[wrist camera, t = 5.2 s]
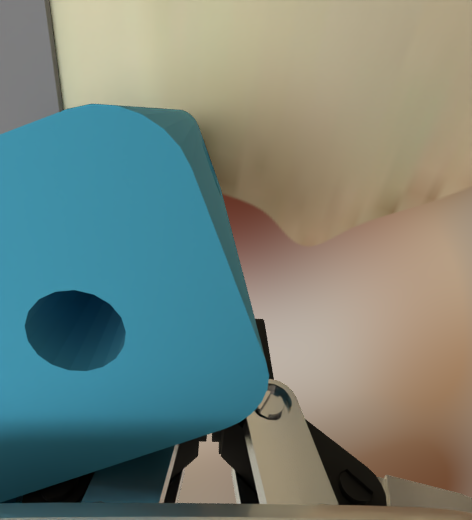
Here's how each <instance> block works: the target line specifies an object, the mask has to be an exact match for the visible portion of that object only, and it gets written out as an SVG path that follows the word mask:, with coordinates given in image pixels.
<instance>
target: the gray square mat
mask: <svg viewBox="0 0 472 520" xmlns="http://www.w3.org/2000/svg"><path fill="white" fill-rule="evenodd" d="M61 111H63V105H62V97H61V89H60V82H59V74H58V66H57V58H56V51H55V43H54V35H53V27H52V20H51V12H50V4H49V0H0V134H3V133H5V132H8V131H11V130H13V129H16V128H18V127H21V126H24V125H26V124H29V123H32V122H34V121H37V120H40V119H42V118H45V117H47V116H50V115H53V114H55V113H58V112H61Z"/></svg>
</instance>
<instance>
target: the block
mask: <svg viewBox="0 0 472 520" xmlns="http://www.w3.org/2000/svg"><path fill="white" fill-rule="evenodd" d="M268 381H269V373H268V368H267V363H266V359H265V356H264V352H263V348H262V344H261V340H260V337H259V333H258V329H257V325H256V321H255V318H254V314H253V310H252V306H251V302H250V299H249V295H248V291H247V287H246V283H245V280H244V276H243V272H242V268H241V264H240V260H239V257H238V253H237V249H236V245H235V241H234V238H233V234H232V230H231V226H230V222H229V219H228V215H227V211H226V207H225V203H224V200H223V196H222V192H221V188H220V185H219V182H218V179H217V176H216V174H215V171H214V168H213V165H212V162H211V160H210V157H209V154H208V151H207V149H206V146H205V143H204V140H203V137H202V135H201V132H200V129H199V126H198V124H197V122H196V120H195V119H194V118H193V117H192V115H190V114H189V113H187V112H185V111H182V110H174V109H160V108H145V107H131V106H116V105H102V104H88V105H84V106H79V107H74V108H70V109H66V110H63V111H61V112H58V113H55V114H53V115H50V116H47V117H45V118H42V119H40V120H37V121H34V122H32V123H29V124H26V125H24V126H21V127H18V128H16V129H13V130H11V131H8V132H5V133H3V134H0V502H4V501H7V500H10V499H13V498H16V497H19V496H22V495H25V494H28V493H31V492H34V491H37V490H40V489H43V488H46V487H49V486H52V485H55V484H58V483H61V482H64V481H67V480H70V479H73V478H77V477H80V476H83V475H86V474H89V473H92V472H95V471H98V470H101V469H104V468H107V467H110V466H113V465H116V464H119V463H122V462H125V461H128V460H131V459H134V458H137V457H140V456H143V455H147V454H150V453H153V452H156V451H159V450H162V449H165V448H168V447H171V446H174V445H177V444H180V443H183V442H186V441H189V440H192V439H195V438H198V437H201V436H204V435H207V434H210V433H213V432H216V431H220V430H223V429H226V428H228V427H230V426H232V425H235V424H237V423H239V422H241V421H242V420H244V419H245V418H246V417H248V416H249V415H250V414H252V413H253V412H254V410H255V409H256V408H257V407H258V406H259V405H260V403H261V402H262V400H263V398H264V396H265V394H266V392H267V389H268Z"/></svg>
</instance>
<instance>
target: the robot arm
mask: <svg viewBox="0 0 472 520" xmlns="http://www.w3.org/2000/svg"><path fill="white" fill-rule="evenodd" d="M255 321H256V325H257V329H258V333H259V337H260V340H261V344H262V348H263V352H264V356H265V359H266V363H267V368H268V373H269V381H268V389H267V392H266V394H265V396H264V398H263V400H262V402H261V403H260V405H259V406H258V407H257V408H256V409H255V410H254V412H253V413H252V414H250V415H249V416H248V417H246V418H245V419H244V420H242V421H241V422H239V423H237V424H235V425H232V426H230V427H228V428H226V429H223V430H220V431H216V432H213V433H212V442H219V454H221V457H222V458H223V459H224V460H225V461H226V462H227V463H228V464H229V465H230V466H231V467H232V479H233V486H234V491H235V497H236V503H237V504H207V503H203V504H202V503H199V504H198V503H197V504H196V503H178V498H179V494H180V490H181V486H182V482H183V477H184V469H185V467H186V466H187V465H188V464H189V463H191V462H192V461H193V460H194V459H195V458H196V457H197V456H198V448H199V441H206V438H207V435H204V436H201V437H198V438H195V439H192V440H189V441H186V442H183V443H180V444H177V445H174V446H171V447H168V448H165V449H162V450H159V451H156V452H153V453H150V454H147V455H143V456H140V457H137V458H134V459H131V460H128V461H125V462H122V463H119V464H116V465H113V466H110V467H107V468H104V469H101V470H98V471H95V472H92V473H89V474H86V475H83V476H80V477H77V478H73V479H70V480H67V481H64V482H61V483H58V484H55V485H52V486H49V487H46V488H43V489H40V490H37V491H34V492H31V493H28V494H25V495H22V496H19V497H16V498H13V499H10V500H7V501H4V502H0V520H472V498H470V497H467V496H465V495H463V494H459V493H455V492H451V491H448V490H444V489H440V488H436V487H432V486H427V485H424V484H420V483H416V482H412V481H408V480H404V479H400V478H396V477H392V476H389V475H386V476H385V478H380V477H376V475H375V474H374V473H373V472H372V471H371V470H369V468H367V467H366V466H365V465H364V464H362V463H361V462H360V461H358V460H357V459H356V458H355V457H353V456H352V455H351V454H349V453H348V452H347V451H346V450H344V449H343V448H342V447H340V446H339V445H338V444H337V443H335V442H334V441H333V440H331V439H330V438H329V437H327V436H326V435H325V434H324V433H322V432H321V431H320V430H318V429H317V428H316V427H315V426H313V425H312V424H311V423H309V422H308V421H307V420H305V418H304V416H303V413H302V411H301V408H300V406H299V403H298V401H297V398H296V396H295V395H294V393H293V391H292V390H291V389H289V387H287V386H286V385H285V384H283V383H281V382H279V381H276V380H274V378H273V372H272V366H271V360H270V354H269V347H268V341H267V335H266V329H265V323H264V320H263V319H255Z"/></svg>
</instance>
